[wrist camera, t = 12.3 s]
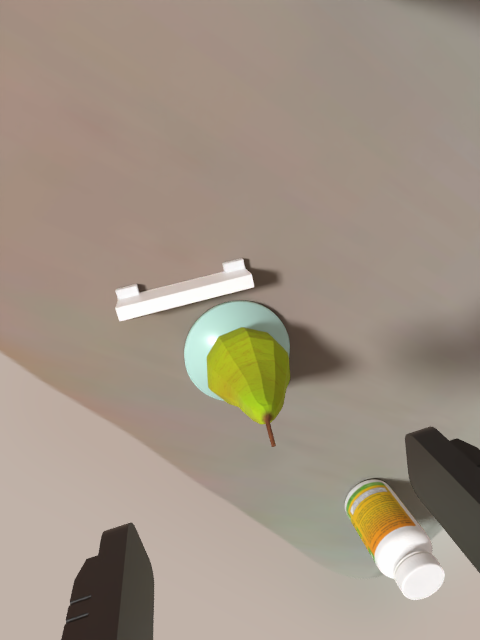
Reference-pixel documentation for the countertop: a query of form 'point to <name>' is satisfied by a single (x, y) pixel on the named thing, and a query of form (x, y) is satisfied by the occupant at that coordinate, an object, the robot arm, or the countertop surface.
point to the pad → (221, 323)
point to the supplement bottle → (394, 539)
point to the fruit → (250, 373)
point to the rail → (183, 291)
